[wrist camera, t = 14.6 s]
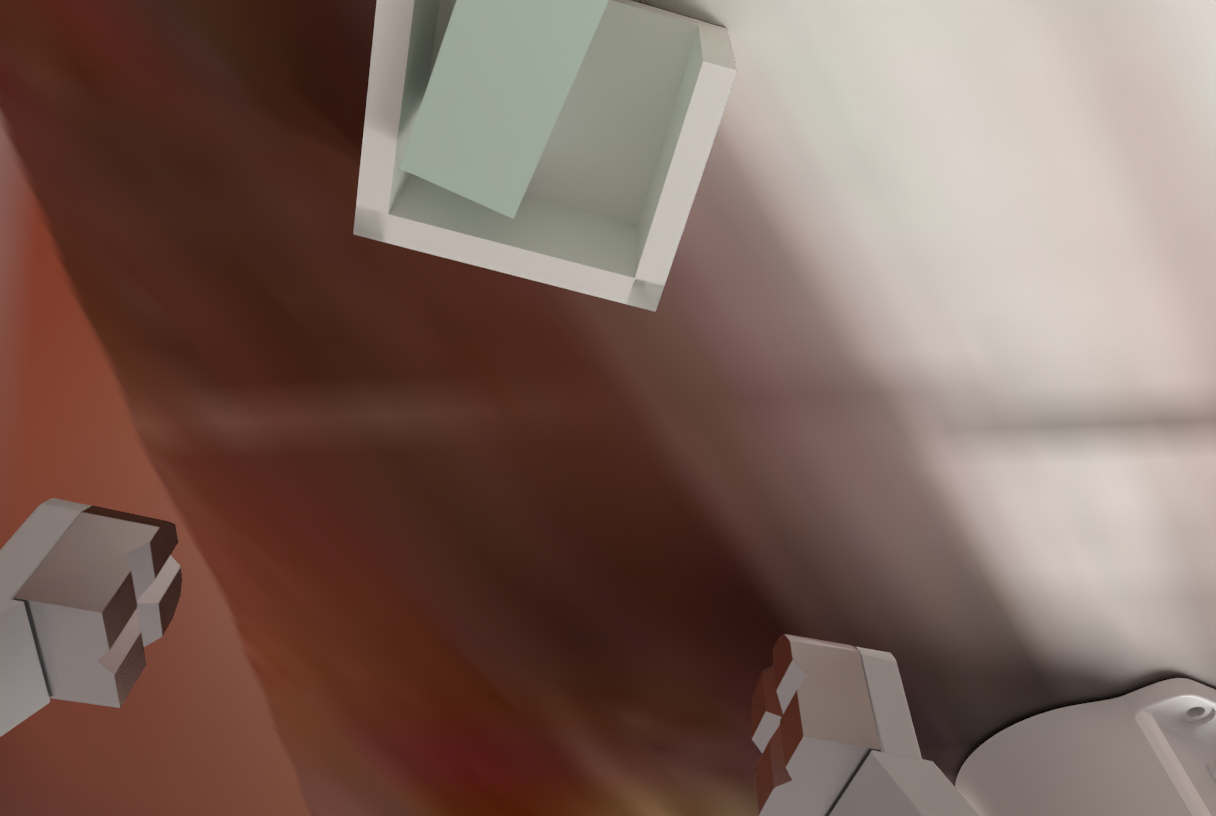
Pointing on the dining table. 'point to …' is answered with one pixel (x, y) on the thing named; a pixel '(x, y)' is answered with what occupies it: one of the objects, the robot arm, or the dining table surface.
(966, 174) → the dining table surface
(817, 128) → the dining table surface
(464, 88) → the slat
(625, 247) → the endcap
